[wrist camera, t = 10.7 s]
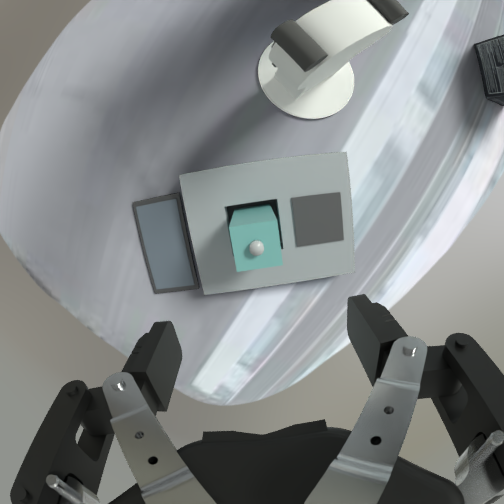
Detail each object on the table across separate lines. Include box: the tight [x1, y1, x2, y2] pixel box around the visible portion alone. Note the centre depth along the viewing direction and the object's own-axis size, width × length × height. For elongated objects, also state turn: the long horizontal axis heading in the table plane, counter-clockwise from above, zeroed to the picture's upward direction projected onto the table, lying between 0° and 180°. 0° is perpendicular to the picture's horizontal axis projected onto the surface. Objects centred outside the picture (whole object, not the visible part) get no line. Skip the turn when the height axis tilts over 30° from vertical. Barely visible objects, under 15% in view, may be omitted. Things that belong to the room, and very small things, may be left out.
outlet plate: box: [179, 152, 355, 295], centre depth 31 cm, size 14×18×3 cm
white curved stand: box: [258, 0, 409, 119], centre depth 19 cm, size 12×11×15 cm
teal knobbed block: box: [229, 204, 283, 272], centre depth 27 cm, size 4×4×10 cm
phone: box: [133, 193, 199, 293], centre depth 33 cm, size 6×12×1 cm, turn 8°
